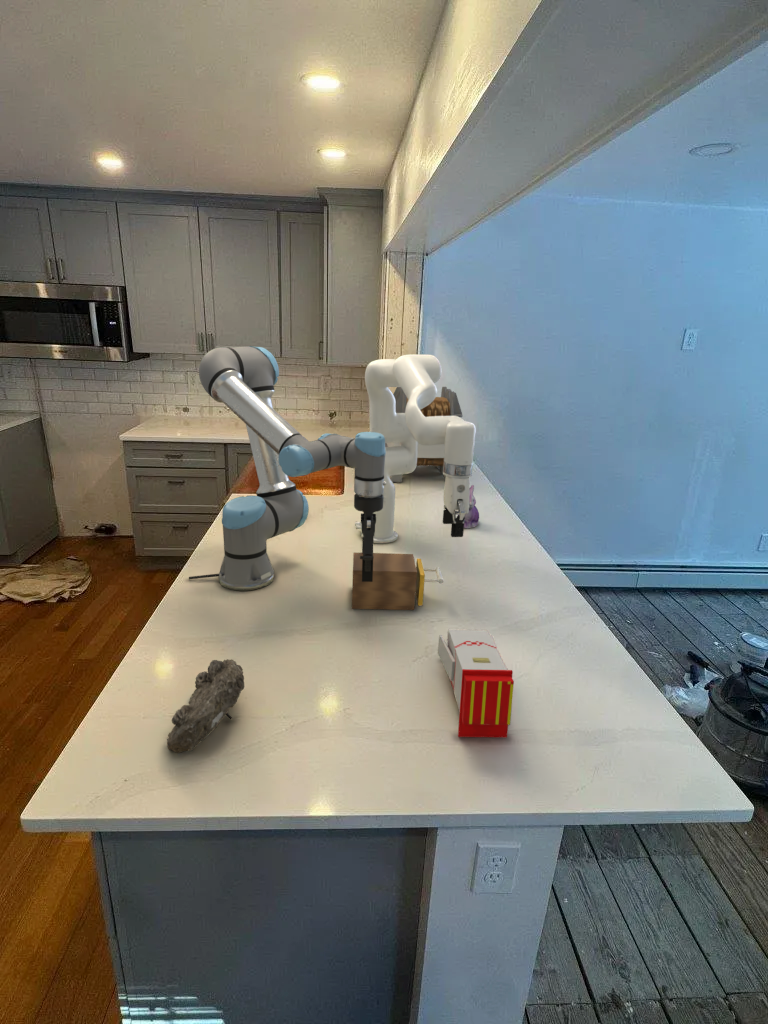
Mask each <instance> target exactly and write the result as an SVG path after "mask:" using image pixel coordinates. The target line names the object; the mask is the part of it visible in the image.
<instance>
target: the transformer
mask: <svg viewBox="0 0 768 1024" xmlns="http://www.w3.org/2000/svg"><path fill="white" fill-rule="evenodd" d="M440 393H441V394H440V396H436V397H435V399H434V400H433V402H432V403H430V404H429V405H428V406H426V407H424V408H423V409H421V410H420V411H421V412H422V414H423V415H424V416H425V417H429V416H458V417H460V418H461V419H463V420H464V421H466V420H465V419H464V418H463V411H462V408H461V405H460V402H459V398H458V395H457V392H455V391H453V390H452V389H451V388H447V386H442V387H441V392H440ZM393 395H394V397H395V401H396V413H405V410H406V405H407V402H408V398H407V396H406V395H405V393H404V391H403V389H402V388H401V387H395V390H394V392H393ZM393 446H400V444H399V442H394V443H385V447H393ZM444 452H445V444H439V445H422V444H419V443H418V442H417V465H416V467H417V466H418V467H436V468H437V470H438V469H439V473H440V474H441V475H443V478H444V479H445V477H446V475H444V474H443V465H444ZM403 475H404V474H400V475H392V476H390V477H389V478H390V480H391V481H392V483H402V482H403Z"/></svg>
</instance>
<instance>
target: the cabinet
mask: <svg viewBox="0 0 768 1024" xmlns="http://www.w3.org/2000/svg"><path fill="white" fill-rule="evenodd" d="M352 556H353V557H352V584H351V585H352V587H351V588H352V590H351V591H352V592H351V610H389V611H391V610H395V611H396V610H397V611H415V605H416V604H415V603H416V592H415V591H416V577H417V570H416V561H415V557H414V553H393V552H391V553H390V552H389V553H387V552H373V556H374V558H373V582H362V559H360V556H363V553H362V552H353V555H352Z"/></svg>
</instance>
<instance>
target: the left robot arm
mask: <svg viewBox="0 0 768 1024" xmlns="http://www.w3.org/2000/svg"><path fill="white" fill-rule="evenodd" d="M198 377H199V381H200V383H201V386H202V388H203V389H204V391H205V392H206V393H207V394H208V395H209V396H210V397H211V398H212V399H213V400H214V401H215V402H217V403H222V404H224V405H225V407H227V408H228V409H229V410H230V411H231V412H232V413H233V414H235V415H236V417H238V418H239V419H240V420H241V421H242V422H243V423H244V424H245V428H246V431H247V436H248V440H249V444H250V449H251V453H252V459H253V462H254V466H255V470H256V475H257V479H258V484H259V486H258V488H257V490H256V492H255V494H256V495H246V496H244V495H242V496H238V497H234V498H232V499H230V500H229V501H227V502H226V503H225V504H224V505H223V507H222V512H221V513H222V514H221V516H222V517H221V524H222V537H223V553H224V555H223V559H222V562H221V565H220V569H219V572H218V573H210V574H202V575H201V574H200V575H193V576H188V580H198V579H206V578H215V577H216V578H217V577H218V581H219V584H220V585H221V586H222V587H224V588H226V589H229V590H233V591H239V592H240V591H243V592H244V591H254V590H258V589H259V590H260V589H263V588H264V587H267V586H268V585H270V584H271V583H272V582H273V581H274V579H275V570H274V568H273V565H272V563H271V560H270V556H269V554H268V551H267V540H269V539H272V538H274V537H278V536H280V535H282V534H286V533H288V532H289V533H290V532H294V531H295V530H296V529H298V528H300V527H302V526H303V525H304V524H305V523H306V520H307V519H308V517H309V509H310V508H309V502H308V499H307V497H306V495H304V493H303V492H302V491H301V490H299V489H297V486H296V483H295V482H293V481H292V480H290V478H289V477H291V478H297V477H303V476H308V475H310V474H312V473H317V472H320V471H325V470H327V469H331V468H334V467H338V466H340V467H346V468H350V469H354V476H353V485H354V486H353V493H354V494H353V508H354V509H355V510H356V511H358V512H362V513H360V522H361V524H362V530H361V533H362V535H363V537H362V536H361V539H362V541H361V543H362V544H361V553H363V556H360V559H362V582H373V558H374V556H373V553H374V543H373V536H374V533H375V524H376V514H373V513H374V512H378V511H380V510H382V509H383V500H384V496H383V495H382V494H383V492H384V486H383V485H386V482H385V481H384V465H385V454H386V450H385V438H384V436H383V435H382V434H380V433H376V432H370V431H361V432H358V433H356V435H355V437H348V436H345V435H341V434H337V433H328V432H327V433H323V434H322V435H320V436H319V437H318V438H317V439H315V440H308V439H307V438H306V437H305V436H304V435H303V434H302V433H300V432H299V431H298V430H297V428H295V427H293V425H292V424H290V423H289V422H288V420H286V419H285V418H284V417H283V416H282V415H280V414H279V413H278V412H277V411H276V410H275V409H274V405H273V402H272V397H273V395H274V394H275V392H276V390H275V385H276V384H277V382H278V380H279V378H278V377H280V369H279V365H278V361H277V359H276V358H275V356H274V355H273V354H272V353H271V351H269V350H268V349H267V348H265V347H262V346H253V345H248V346H227V347H225V346H223V347H222V346H221V347H216V348H213V349H210V350H209V351H208V352H206V353H205V354H204V356H203V357H202V358H201V360H200V362H199V367H198ZM383 481H384V482H383Z"/></svg>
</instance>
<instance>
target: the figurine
mask: <svg viewBox="0 0 768 1024" xmlns="http://www.w3.org/2000/svg"><path fill="white" fill-rule="evenodd" d="M474 490H475V485H474V484H472V485H470V496H469V512H468V513H467V514H465V516H464V517H465V519H464V520H465V522H464V529H472V528H475V527H477V526H478V525H479V520H480V513H479V509H478V508H477V506H476V504H477V500H476V497H475V495H474V492H475V491H474ZM457 511H459V510H457ZM457 516H459V515H457Z"/></svg>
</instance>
